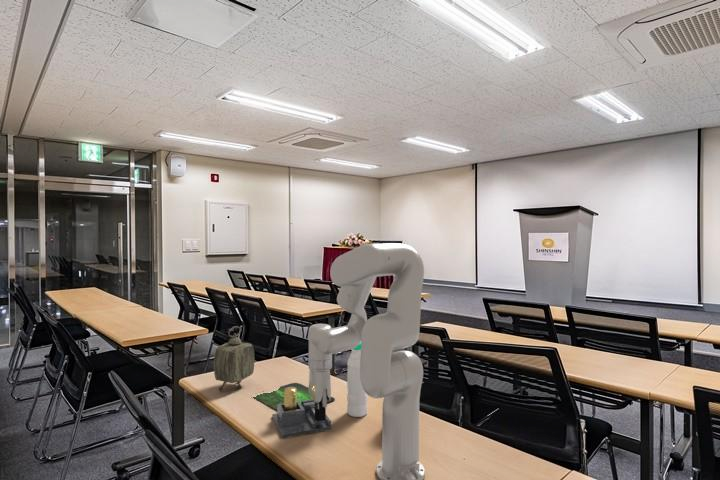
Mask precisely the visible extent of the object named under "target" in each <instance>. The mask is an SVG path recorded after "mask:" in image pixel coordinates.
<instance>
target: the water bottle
mask: <svg viewBox="0 0 720 480" xmlns="http://www.w3.org/2000/svg"><path fill="white" fill-rule="evenodd" d="M360 357H361V342H360V344H359V345H358V346H357V347H356V348H354V349H351V353H350V355H349V357H348V359H347V362H346V363H347V364H346V365H347V375H346V378H347V379H346V380H347V383H346V385H347V386H346V387H347V397H346V401H347V407H346V413H347V414H348V415H349V416H350V417H353V418H362V417H364V416H366V415H367V414H368V395H367V394H366V393H365V391H364V389H363V387H362V384H361V380H360Z"/></svg>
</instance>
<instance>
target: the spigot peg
mask: <svg viewBox="0 0 720 480" xmlns="http://www.w3.org/2000/svg"><path fill="white" fill-rule="evenodd" d="M296 402H297V389H296V388H295V387H287V388H285V389H284V412H285V411H291V410H296Z"/></svg>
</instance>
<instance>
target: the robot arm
mask: <svg viewBox="0 0 720 480" xmlns="http://www.w3.org/2000/svg"><path fill="white" fill-rule="evenodd" d="M423 262H424V261H423V259H422V257H421V255H420V254H419V251H417V250H416V249H415V248H413V247H412V246H411V245H408V244H406V243H405V244H404V243H398V242H397V243H396V242H389V243H387V242H386V243H365V244H363V245H360V246H358V247H355V248H353V249H351V250H349V251H346V252H344V253H343V254H340V255H339V256H337V257H336V258H335V259H334V261H333V262H332V264H331V266H330V270H329V272H330V273H329V274H330V279H331V282H332V283H333V284H334V285H336V286H338V287H340V289H339V292H338V294H337V297H336V302H337V304H338V306H339V307H340V308H341V309H342V310H344V311H345V312H348V313H350V314H351V315H350V318H349V321H348V322H347V324H346V325H343V326H337V327H333V328H332V326H331V325H330V324H327V323H316V324H315V323H314V324H312V325H310V326H309V327H308V370H309V372H308V373H309V374H308V388H309V389H308V392H309V395H310V396H311V398H312V399H313V400H314V402H315V420H316V421H323V420H325V419H326V415H327V413H326V410H327V407H328V403H327V401H330V398H331V397H332V396H331V394H332V392H331V391H332V388H331V387H332V386H331V369H332V368H333V355H335V354H337V353H342V352H345V351H350V350H351V349H354V348H356V347H357V346H358V345H359V344H360V342H361V357H360V380H361V384H362V387H363V389H364V391H365V393H366V394H367V397H368V396H369V397H370V398H373V399H383V401H382V415H381V416H382V419H381V420H382V421H381V422H382V423H381V426H382V427H381V429H382V431H381V432H382V435H381V437H382V439H381V440H382V442H381V443H382V444H381V445H382V450H381V451H382V452H381V455H382V456H381V460H380V461H378V463H377V465H376V475H377V477H378V479H379V480H424V479H425V475H426V468H425V466H424V465H423V464H422V463H421V462H420V397H421V389H422V384H423V379H424V367H423V366H424V365H423V363H422V360H421V359H420V357H419V356H418V355H417V354H416V353H414V352H413V351H409V350H403V349H406V348H409V347H412V346H414V345H415V344H416V343H417V342H418V340H419V339H420V338H419V337H420V327H421V325H420V324H421V312H422V310H421V308H422V291H423V284H424V277H425V268H424V267H425V266H424V263H423ZM384 276H385V277H386V276H394V277H395V278H394V279H393V281H392V283H391V285H390V288H389V290H388V295H387V306H386V308H387V309H386V312H385V313H380V314H378V313H377V314H376V315H373V316H371V317H370V318H368V316H367V312H366V309H365V306H366V303H367V301H368V299H369V296H370V293H371V292H372V289H373V287H374V284H375V283H376V282H375V281H376V279H377V278H378V277H384ZM351 351H352V350H351Z"/></svg>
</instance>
